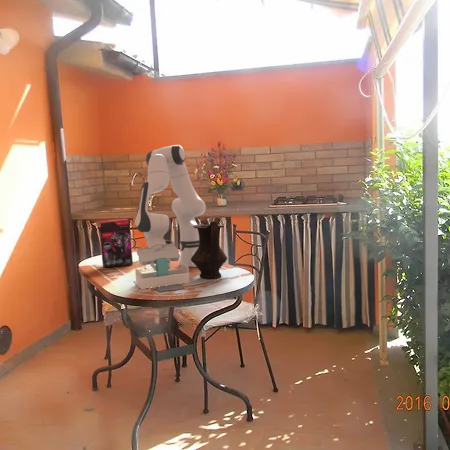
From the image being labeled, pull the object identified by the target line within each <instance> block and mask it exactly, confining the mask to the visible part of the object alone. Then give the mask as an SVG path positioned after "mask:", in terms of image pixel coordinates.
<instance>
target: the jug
mask: <svg viewBox="0 0 450 450" xmlns="http://www.w3.org/2000/svg"><path fill="white" fill-rule="evenodd" d="M193 227H194V228H197V229H198V233H199V241H200V242H199V243H200V244H199V247H198V249H197V251H196V252H195V253H194V255H193V256H192V258H191V261H192V262H193V263H194V264H195V265H196V266H197V267H196V268H197V269H198V271H199V272H200V273H199V277H200V278H201V279H210V280H211V279H220V278H221V277H222V274H221V272H220V270H221V268H222V267H223V265H224V264H225V263H226V262H227V260H228V257H227V255H226V253H225V251H223V249H221V247H220V229H221V228H224V227H225V225H224V224H218V221H217V220H212V221H211V222H210V223H208V224H198V225H194V226H193Z"/></svg>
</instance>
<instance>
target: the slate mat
mask: <svg viewBox="0 0 450 450" xmlns="http://www.w3.org/2000/svg"><path fill="white" fill-rule="evenodd" d="M153 289H155V290H156V289H157V290H158V291H159V292H160V293H163V292H162V291H167V292H170V291H169V290H174V291H176V290H175V289H181V290H185V287H183V286H182V284H174V285H167V286H160V287H154V288H153ZM157 290H156V291H157ZM158 291H157V292H158ZM159 292H158V293H159Z"/></svg>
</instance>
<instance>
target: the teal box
mask: <svg viewBox="0 0 450 450" xmlns="http://www.w3.org/2000/svg"><path fill="white" fill-rule="evenodd" d="M155 262H156V264H155V266H157V268H158V270H156V271H155V272H156V276H157V277H160V276H167V275H169V270H170V269H168V264H169V263H168V259H167V258H158V259H156V261H155Z"/></svg>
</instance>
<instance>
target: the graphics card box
mask: <svg viewBox="0 0 450 450" xmlns="http://www.w3.org/2000/svg"><path fill="white" fill-rule="evenodd" d="M98 228H99V236H100V237H99V239H100V240H99V241H100V249H101V251H100V252H101V260H102V267H103V268H104V269H108V268H114V267H115V268H116V267H123V266H129V265H133V264H134V263H133V262H134V261H133V251H132V250H133V249H132V239H131V229H130V219H128V218H120V219H108V220H99V221H98Z"/></svg>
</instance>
